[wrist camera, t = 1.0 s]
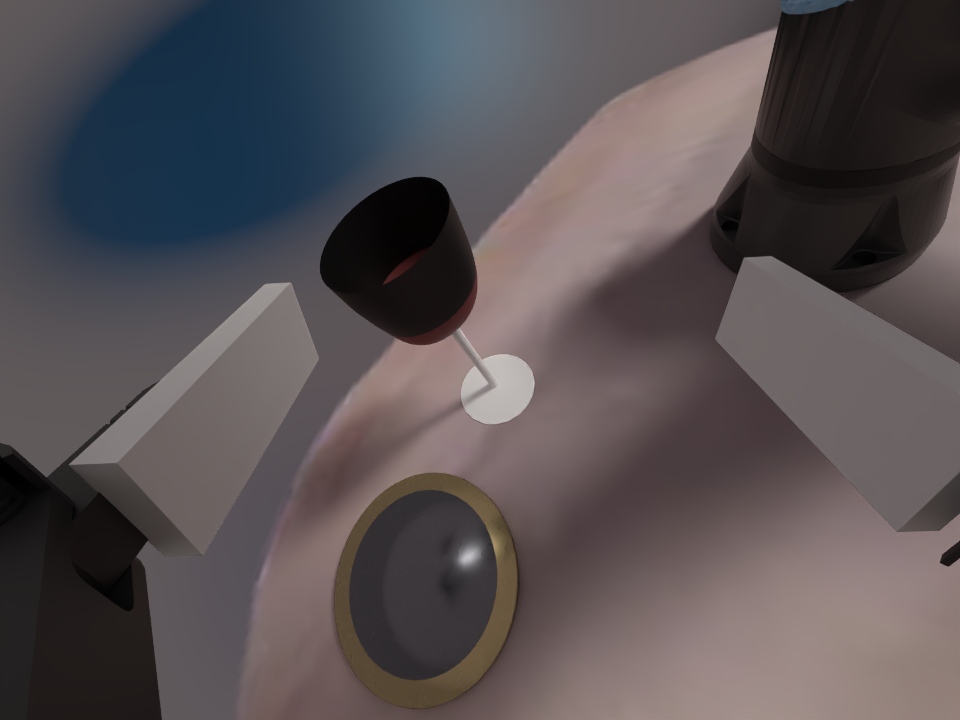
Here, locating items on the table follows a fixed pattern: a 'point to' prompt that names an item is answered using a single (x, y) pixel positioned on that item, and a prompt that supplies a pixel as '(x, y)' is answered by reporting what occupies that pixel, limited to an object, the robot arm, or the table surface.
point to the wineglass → (421, 285)
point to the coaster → (426, 590)
